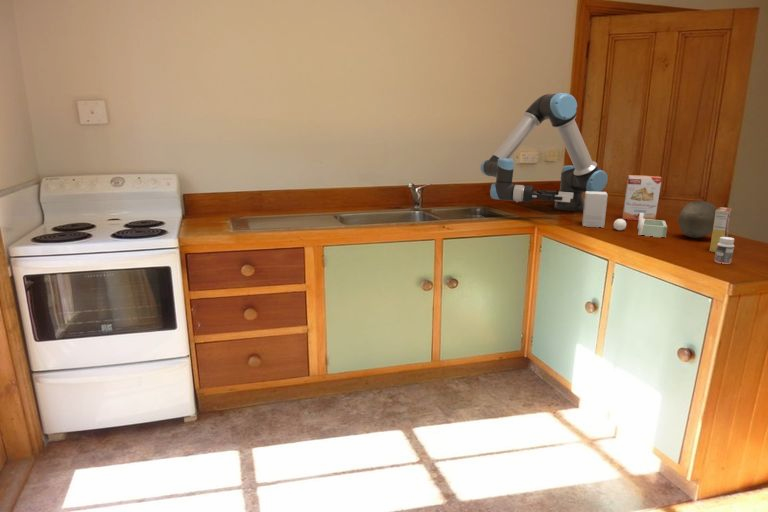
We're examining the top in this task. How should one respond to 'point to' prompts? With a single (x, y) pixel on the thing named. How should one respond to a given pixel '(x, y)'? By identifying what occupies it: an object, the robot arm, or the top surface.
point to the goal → (651, 227)
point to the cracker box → (641, 197)
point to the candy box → (720, 226)
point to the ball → (620, 224)
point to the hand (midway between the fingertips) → (571, 197)
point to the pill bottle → (724, 250)
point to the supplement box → (594, 209)
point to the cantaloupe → (697, 219)
